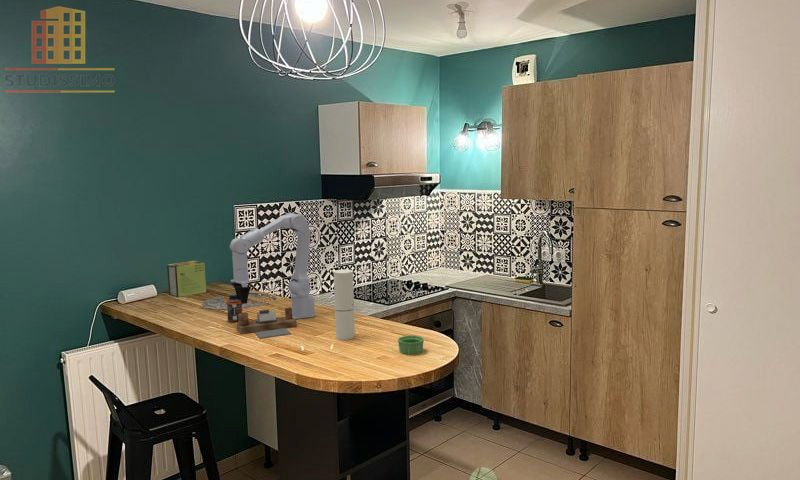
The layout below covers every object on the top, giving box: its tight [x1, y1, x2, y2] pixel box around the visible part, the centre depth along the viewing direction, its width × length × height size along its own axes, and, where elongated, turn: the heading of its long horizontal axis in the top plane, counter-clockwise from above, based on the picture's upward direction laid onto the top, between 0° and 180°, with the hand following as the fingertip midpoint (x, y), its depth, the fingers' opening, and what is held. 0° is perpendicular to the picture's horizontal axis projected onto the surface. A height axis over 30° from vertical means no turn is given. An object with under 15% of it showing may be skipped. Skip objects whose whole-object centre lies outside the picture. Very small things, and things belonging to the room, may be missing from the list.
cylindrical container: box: [333, 269, 356, 341], centre depth 228 cm, size 7×7×25 cm
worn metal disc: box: [201, 292, 278, 311], centre depth 291 cm, size 33×35×1 cm
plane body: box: [236, 306, 298, 335], centre depth 243 cm, size 22×8×7 cm, turn 116°
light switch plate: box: [256, 309, 277, 322], centre depth 243 cm, size 6×4×4 cm
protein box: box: [166, 260, 207, 298], centre depth 310 cm, size 10×15×16 cm
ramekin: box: [397, 335, 425, 355], centre depth 211 cm, size 9×9×4 cm
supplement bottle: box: [226, 292, 243, 323], centre depth 255 cm, size 6×6×11 cm
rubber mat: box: [254, 328, 292, 339], centre depth 235 cm, size 12×8×1 cm, turn 116°
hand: (242, 301), depth 246 cm, fingers open, 7 cm apart
